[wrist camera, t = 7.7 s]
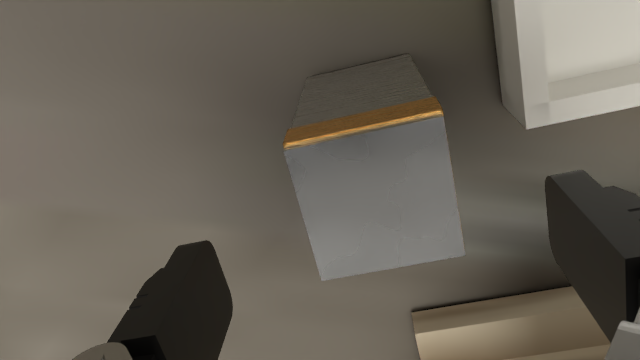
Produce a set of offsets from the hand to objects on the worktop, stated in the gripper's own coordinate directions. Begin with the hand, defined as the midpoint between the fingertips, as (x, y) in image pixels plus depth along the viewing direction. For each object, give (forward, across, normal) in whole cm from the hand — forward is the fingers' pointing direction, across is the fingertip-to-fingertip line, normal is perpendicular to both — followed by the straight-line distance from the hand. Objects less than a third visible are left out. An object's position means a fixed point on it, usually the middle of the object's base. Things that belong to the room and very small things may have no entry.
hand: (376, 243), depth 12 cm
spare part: (+9, 0, 0) cm, 9 cm away
